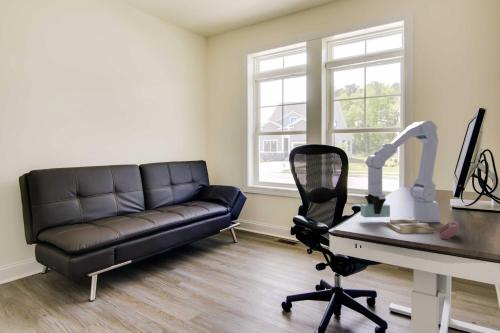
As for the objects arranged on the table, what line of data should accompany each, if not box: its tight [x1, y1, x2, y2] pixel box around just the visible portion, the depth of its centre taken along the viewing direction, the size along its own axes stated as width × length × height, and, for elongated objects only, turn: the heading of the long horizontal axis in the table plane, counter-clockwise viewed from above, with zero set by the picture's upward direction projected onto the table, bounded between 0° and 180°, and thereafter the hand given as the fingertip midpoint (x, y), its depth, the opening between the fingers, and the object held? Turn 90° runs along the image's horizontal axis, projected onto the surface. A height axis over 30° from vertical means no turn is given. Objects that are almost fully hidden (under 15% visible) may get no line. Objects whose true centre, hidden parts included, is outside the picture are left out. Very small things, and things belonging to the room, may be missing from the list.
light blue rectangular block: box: [360, 203, 391, 218], centre depth 131 cm, size 11×4×5 cm, turn 91°
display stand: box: [385, 218, 434, 234], centre depth 119 cm, size 13×11×3 cm
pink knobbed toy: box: [438, 220, 460, 240], centre depth 109 cm, size 10×5×7 cm, turn 148°
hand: (374, 212), depth 131 cm, fingers closed on light blue rectangular block, 4 cm apart
